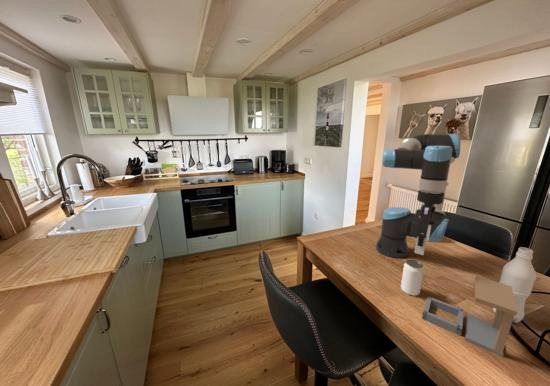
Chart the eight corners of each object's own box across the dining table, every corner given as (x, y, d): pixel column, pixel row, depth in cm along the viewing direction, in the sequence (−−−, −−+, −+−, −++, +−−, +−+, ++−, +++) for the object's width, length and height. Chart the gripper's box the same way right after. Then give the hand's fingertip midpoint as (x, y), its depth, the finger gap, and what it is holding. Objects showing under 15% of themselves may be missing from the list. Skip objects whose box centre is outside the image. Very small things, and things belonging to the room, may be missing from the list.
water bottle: (485, 309, 77) (502, 244, 71) (503, 307, 78) (523, 243, 71) (507, 326, 70) (529, 256, 64) (528, 324, 71) (551, 254, 64)
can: (422, 297, 83) (427, 269, 80) (403, 295, 84) (408, 267, 81) (415, 286, 89) (420, 259, 86) (398, 284, 91) (402, 258, 88)
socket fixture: (421, 321, 73) (428, 281, 69) (427, 299, 82) (434, 263, 78) (502, 358, 60) (517, 311, 57) (499, 327, 70) (511, 286, 66)
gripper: (441, 200, 65) (429, 264, 71) (447, 186, 84) (437, 237, 89) (412, 196, 70) (403, 256, 75) (423, 183, 89) (415, 232, 94)
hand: (421, 246), depth 82 cm, fingers open, 13 cm apart
